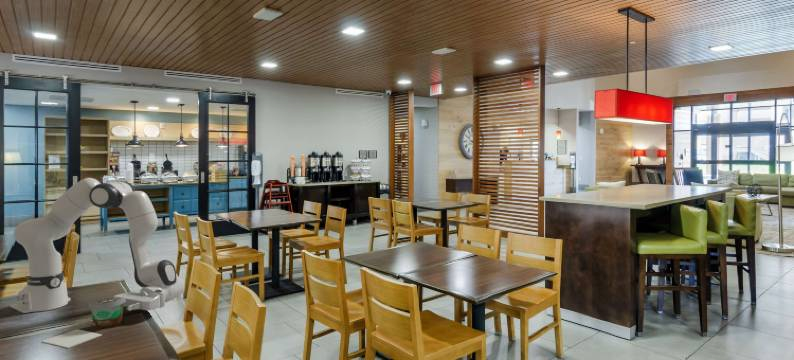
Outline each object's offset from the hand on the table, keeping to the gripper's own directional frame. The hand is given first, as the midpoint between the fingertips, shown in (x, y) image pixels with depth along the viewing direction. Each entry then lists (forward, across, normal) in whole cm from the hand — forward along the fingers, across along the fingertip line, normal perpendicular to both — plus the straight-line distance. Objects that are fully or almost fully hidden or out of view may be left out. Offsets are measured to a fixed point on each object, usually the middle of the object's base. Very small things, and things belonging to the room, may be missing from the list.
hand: (118, 306), depth 180 cm
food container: (+5, 0, +6) cm, 8 cm away
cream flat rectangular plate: (+18, 0, +6) cm, 19 cm away
